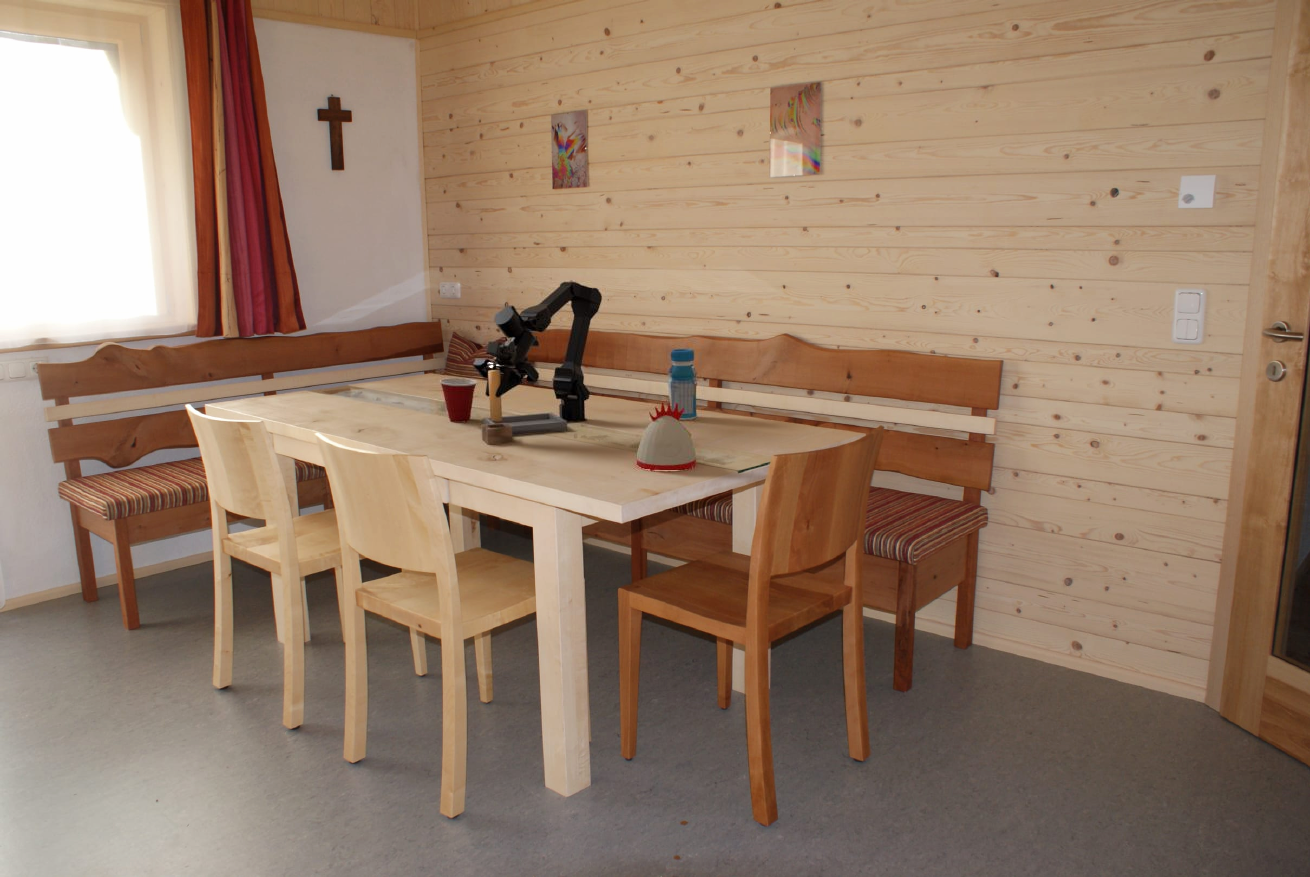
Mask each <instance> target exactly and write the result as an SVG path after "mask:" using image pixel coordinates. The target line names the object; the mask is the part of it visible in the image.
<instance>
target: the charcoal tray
mask: <svg viewBox="0 0 1310 877" xmlns="http://www.w3.org/2000/svg"><path fill="white" fill-rule="evenodd" d="M482 421H483V425H487V424H499V423H507V424H508V425H510V426H511V427H512V436H520V434H521V435H531V434H541V433H552V432H565V431H568V422H567V421H565V420H564V419H562V418H560V416H558V415H557V414H555V413H553V412H542V413H532V414H531V413H529V414H518V415H517V414H516V415H505V416H503V415H502V420H501V421H491V420H490V417H484V418H483V420H482Z"/></svg>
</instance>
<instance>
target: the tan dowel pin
mask: <svg viewBox="0 0 1310 877" xmlns="http://www.w3.org/2000/svg"><path fill="white" fill-rule="evenodd" d="M488 377H489V413H490V414H489V415H490V416H489V418H490V420H491V421H501V420H502V417H503V412H502V411H503V410H502V406H503V405H502V395H501V396H500V397H498V398H497V397H496V396H495V394H496V391H497V389H498V387H499V385H500V379H501V373H500V370H490V371H488Z"/></svg>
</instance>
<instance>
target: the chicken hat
mask: <svg viewBox="0 0 1310 877" xmlns="http://www.w3.org/2000/svg"><path fill="white" fill-rule="evenodd" d="M654 409H655V412H656V413H655V416H654V415H653V414H652V413H651V412H650V411H649V412H648V413H649V416H650V418H651V420H652V422H650V423H649V425H648V426H647V427H646V429H645V430H644V432H643V434H642V436H641V439H640V442H639V445H638V449H637V452H636V466H637V465H638V466H639V467H641V468H644V469H650V470H684V471H686V470H685V469H688V470H690V469H689V468H691V469H693V468H695V467H696V466H697V456H696V451H695V447H694V444H693V440H692V433H691V432H689V431H688V430H687V428H686V427H685V425H683V423H682V422H681V420H679V419H680V417H681V415H682V413H683V411H684V407H683V408H682V410H681V411H680V412H678V403H676V405H675V408H674V411H671V406H670V403H669V401H668V403H667V408H666V409H665V405H664V402H663V401H661V406H660V411H659V409H658V408H657V406H654ZM695 465H696V466H695ZM639 467H638V468H639ZM692 467H693V468H692Z"/></svg>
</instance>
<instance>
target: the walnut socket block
mask: <svg viewBox="0 0 1310 877" xmlns="http://www.w3.org/2000/svg"><path fill="white" fill-rule="evenodd" d="M513 437H514V435H512V427H511V426H510V425H508V424H507V423H499V424H487V425H484V424H481V441H483V442H484V441H485V442H486V443H485V442H484V443H485V444H487V445H488V444H489V445H496V444H495V443H500V444H508V443H507V442H511V443H514V442H513V441H514V439H513Z"/></svg>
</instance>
